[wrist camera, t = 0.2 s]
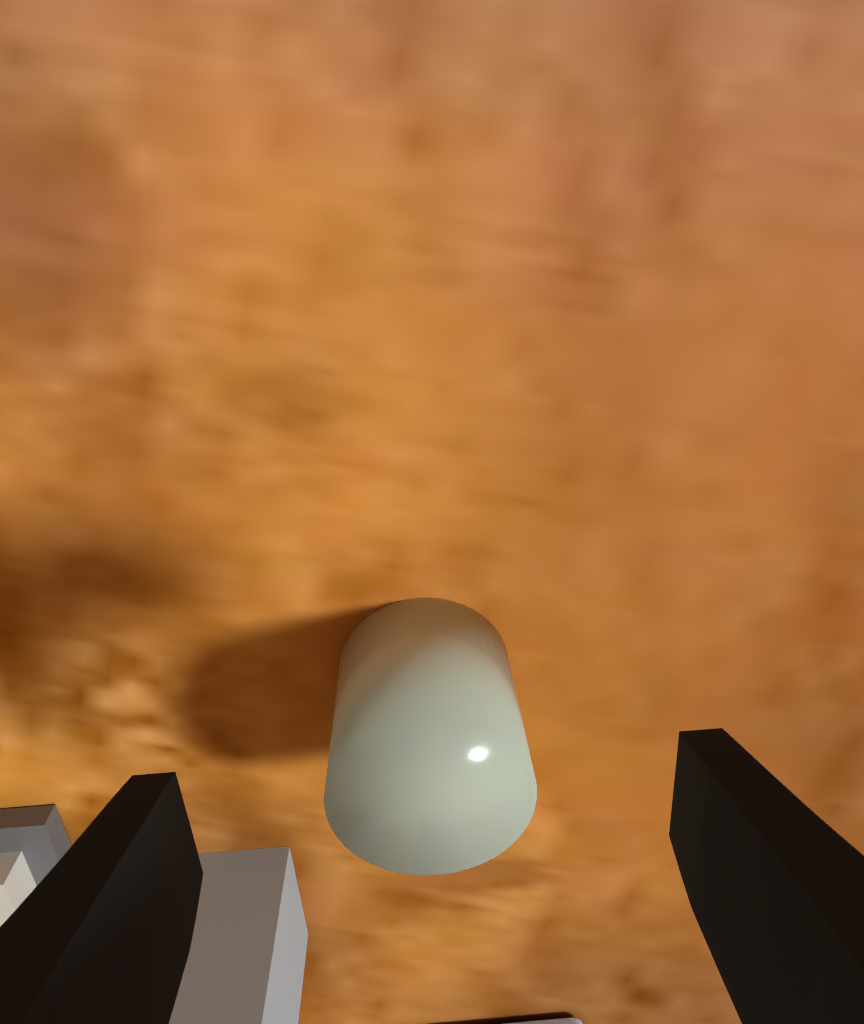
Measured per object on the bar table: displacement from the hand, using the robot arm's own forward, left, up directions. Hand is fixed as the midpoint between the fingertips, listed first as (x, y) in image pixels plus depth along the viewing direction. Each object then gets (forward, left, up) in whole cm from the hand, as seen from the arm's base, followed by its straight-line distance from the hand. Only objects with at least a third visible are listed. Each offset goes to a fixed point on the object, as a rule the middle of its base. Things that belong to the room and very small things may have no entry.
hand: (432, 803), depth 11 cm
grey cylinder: (-5, 0, -10) cm, 11 cm away
